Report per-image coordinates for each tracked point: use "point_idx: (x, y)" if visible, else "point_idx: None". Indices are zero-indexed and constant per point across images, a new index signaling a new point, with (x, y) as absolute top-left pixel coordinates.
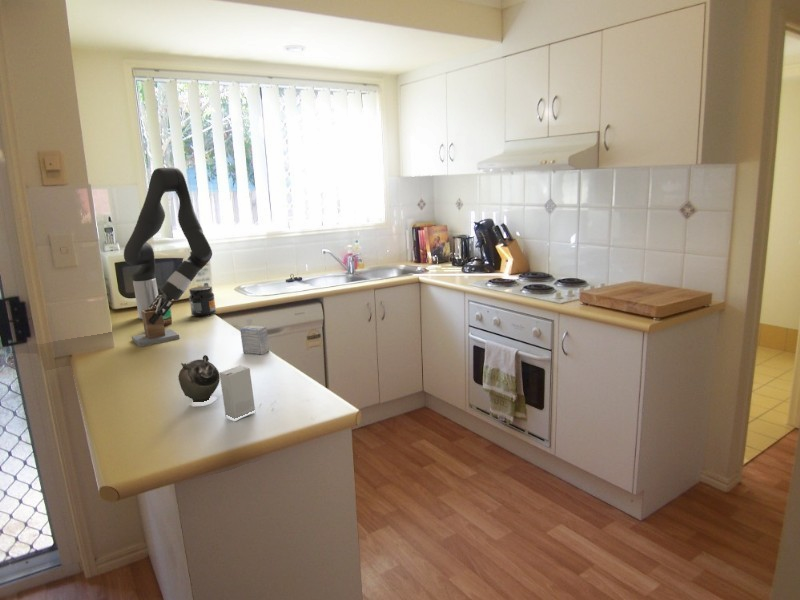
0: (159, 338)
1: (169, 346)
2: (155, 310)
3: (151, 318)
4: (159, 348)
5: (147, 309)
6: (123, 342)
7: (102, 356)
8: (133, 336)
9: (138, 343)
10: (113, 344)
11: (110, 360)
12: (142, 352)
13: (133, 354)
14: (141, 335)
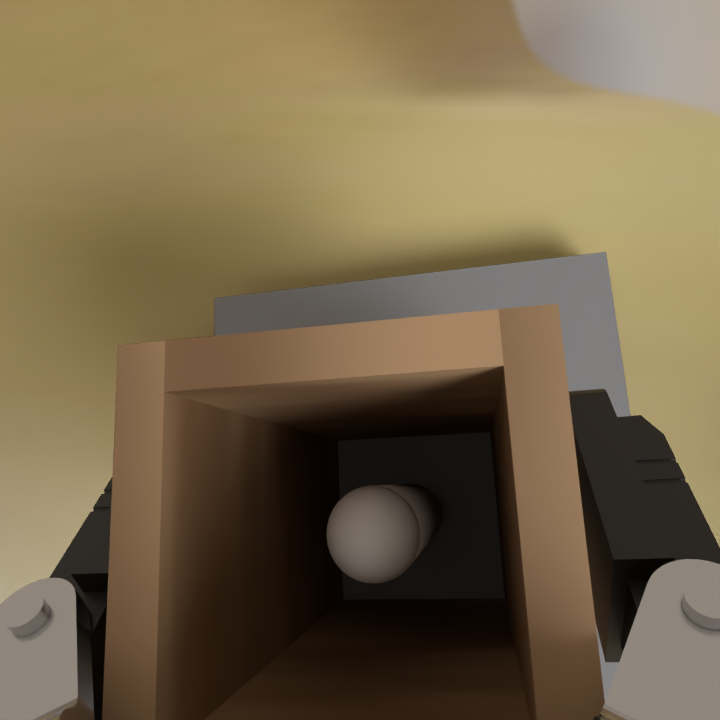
0: None
1: (18, 565)
2: (146, 649)
3: None
4: (31, 465)
5: (514, 484)
6: (573, 180)
7: (189, 14)
8: (591, 272)
9: (260, 297)
10: (564, 87)
11: (25, 73)
12: (34, 310)
13: (38, 237)
14: (568, 365)
